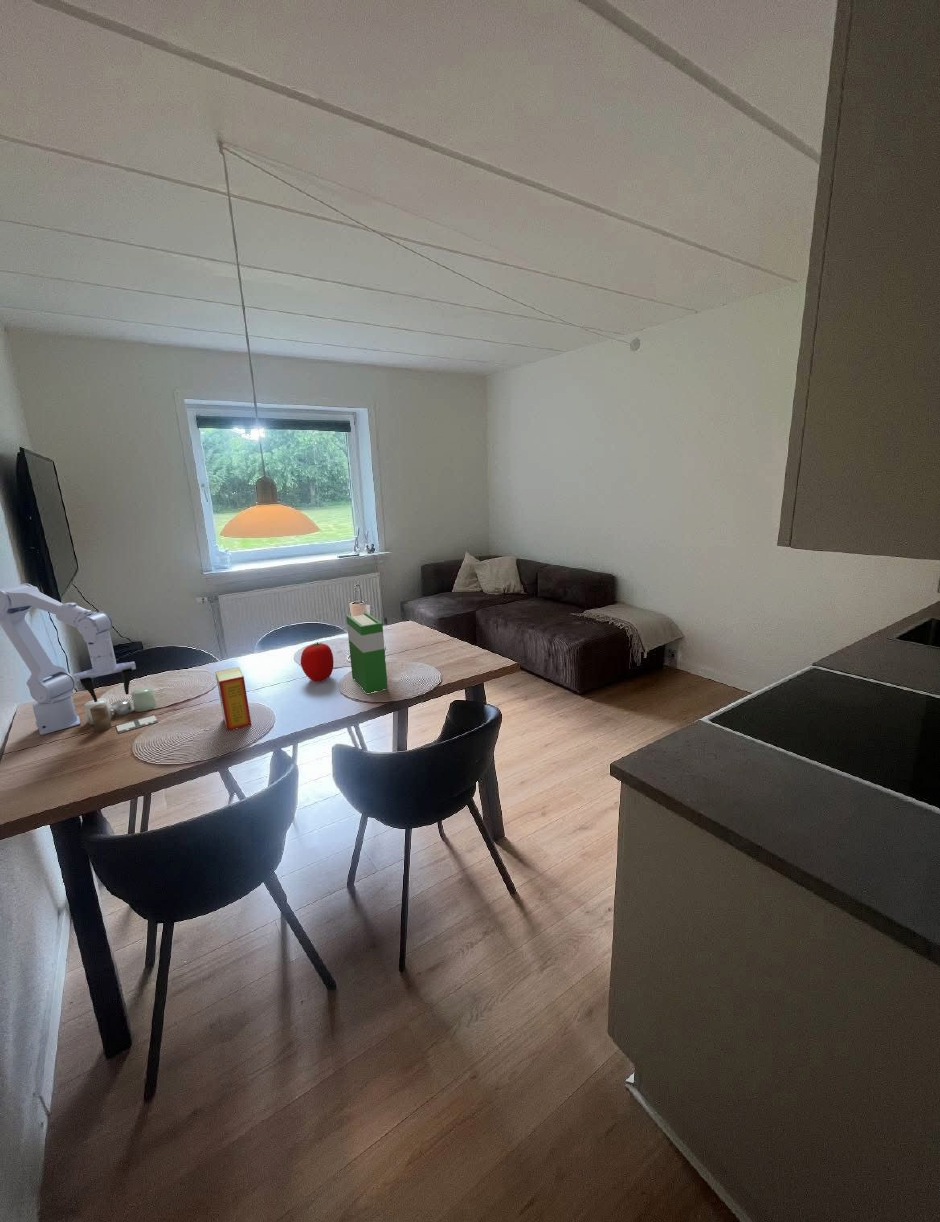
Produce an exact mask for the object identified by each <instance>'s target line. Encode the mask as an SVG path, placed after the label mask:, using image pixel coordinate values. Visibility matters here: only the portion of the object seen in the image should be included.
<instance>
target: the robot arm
mask: <svg viewBox="0 0 940 1222" xmlns="http://www.w3.org/2000/svg"><path fill="white" fill-rule="evenodd" d="M32 608H34V609H35V608H36V609H38V610H42V611H45V612H47V613H50V614H54V615H55V618H56V620H57V621H60V622H61V623H63V624H66V625H69V626H71V627H74V628H77V629H76V630H77V631H78V632H79V634H80V635H81V636H82V638H83V641H84V642H85V643H86V646H87V650H88V655H89V659H90V663H91V669H88V670H85V671H81V672H76V673H73V675H72V674H70V673H69V672H68V671H67V670H66V667H64V666H59V665H57V664H56V665H55V664H54V663H53V662H52V660H51V658H50V657H49V655H48V654H47V652H46V649H44V647H43V646H42V645H41V643H40V641H39V639H38V638H37V636H36V635H35V633H34V631H33V630H32V629H31V627H30V625H29V624H28V622H27V621H26V619H25V618H26V615H27V614H28V613H29V612H30V611H31V609H32ZM113 625H114V622H113V619H112V617H111V616H110V615H109V614H108V613H106V612H104V611H98V612H96V611H92V610H91V609H86V608H84V607H81V606H80V605H78V604H77V603H76V602H65V603H62V602H60V601H59V600H57V599H54V598H52V597H50V596H48V595H47V594H44V593H43V592H41V591H40V590H39V588H38V587H37V586H34V585H32V584H30V583H27V582H26V583H21V584H17V585H12V586H7V587H1V588H0V627H1V629H2V631H4V633H5V634H6V635H7V637H8V639H9V641H10V642H11V644H12V645H13V647H14V648H15V650H16V651H17V653H18V654H19V656H20V657H21V659H22V661H23V662H24V663H25V665H26V667H27V669H29V672H30V676H29V678H28V679H27V681H26V685H27V687H28V689H29V694H30V696H31V698H32V699H33V701H36V702H35V703H32V709H33V713H34V717H35V724H36V728H38V731H39V735H41V736H43V735H46V734H50V733H53V732H57V731H61V730H64V729H68V728H72V727H75V726H79V725H81V720H80V715H79V714H77V712H76V708H75V703H74V699H73V696H72V695H73V694H74V690H75V688H76V685H77V682H80V684H81V685H82V687H83V688H85V690H86V691H88V693H89V694H90V695H91V697H92V700H94V702H98V701H97V699H98V698H97V695H96V693H95V689H94V688H95V687H94V684H93V681H92V679H93V678H98V677H102V676H106V675H112V674H116V673H120V674H121V677H122V681H123V690H124V693H125V695H129V694H130V693H129V692H130V691H129V690H130V682H131V679H132V677H133V673H134V672H133V670H136V669H137V667H136V663H135V661H130V662H128V661H127V662H121V663H117V659H116V655H115V651H114V645H113V642H112V638H111V637H112V636H111V631H110V630H112V628H113ZM48 677H49V678H48Z"/></svg>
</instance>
